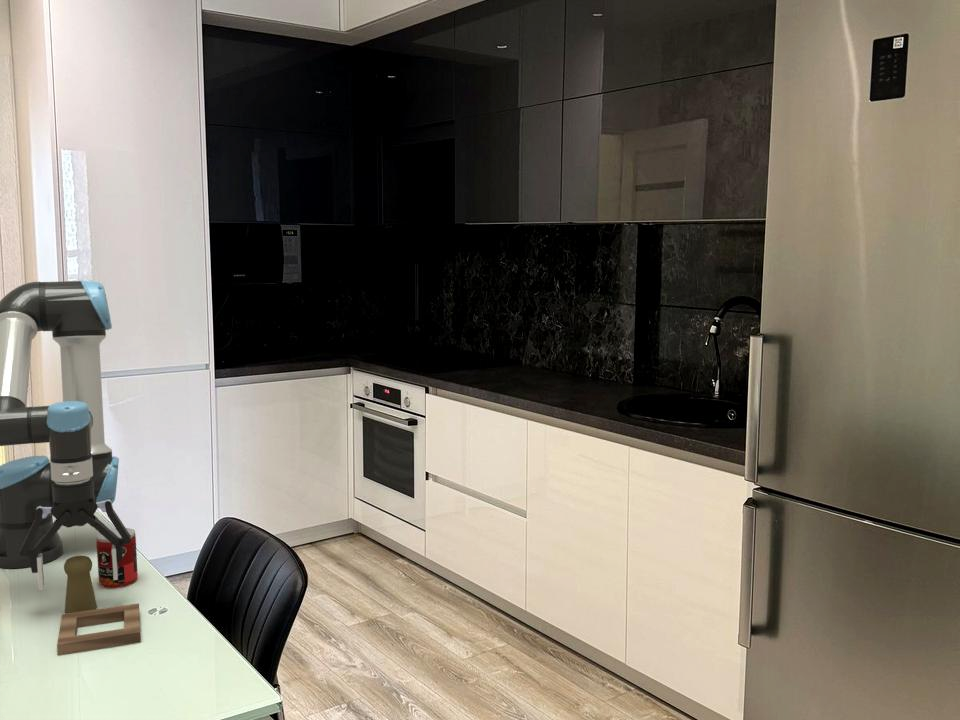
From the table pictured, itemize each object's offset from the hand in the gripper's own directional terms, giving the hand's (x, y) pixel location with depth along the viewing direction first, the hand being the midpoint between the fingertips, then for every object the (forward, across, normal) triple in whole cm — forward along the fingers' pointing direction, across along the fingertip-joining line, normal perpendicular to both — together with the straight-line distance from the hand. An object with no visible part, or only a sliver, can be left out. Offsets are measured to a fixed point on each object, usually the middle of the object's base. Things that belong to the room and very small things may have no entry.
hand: (79, 582), depth 178 cm
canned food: (+6, +7, +13) cm, 16 cm away
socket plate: (+6, +4, -13) cm, 15 cm away
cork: (+6, 0, 0) cm, 6 cm away
